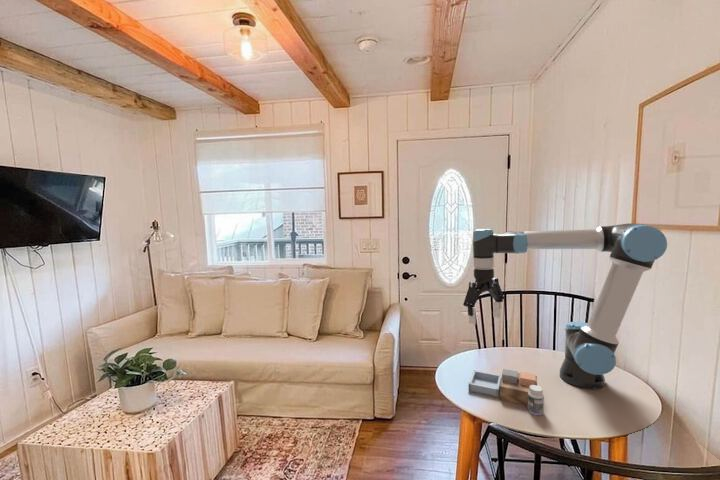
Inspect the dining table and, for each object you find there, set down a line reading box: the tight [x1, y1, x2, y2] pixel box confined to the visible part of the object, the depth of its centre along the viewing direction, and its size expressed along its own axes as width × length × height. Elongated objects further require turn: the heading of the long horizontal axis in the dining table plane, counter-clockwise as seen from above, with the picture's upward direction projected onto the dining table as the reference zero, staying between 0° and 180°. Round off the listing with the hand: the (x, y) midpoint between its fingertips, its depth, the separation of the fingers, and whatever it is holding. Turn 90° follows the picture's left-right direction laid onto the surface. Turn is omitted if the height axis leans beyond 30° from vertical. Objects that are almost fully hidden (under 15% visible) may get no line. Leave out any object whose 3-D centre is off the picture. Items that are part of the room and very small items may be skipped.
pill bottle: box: [527, 384, 545, 416], centre depth 113 cm, size 5×5×8 cm
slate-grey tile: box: [501, 368, 519, 384], centre depth 126 cm, size 5×5×2 cm
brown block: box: [499, 371, 538, 406], centre depth 124 cm, size 12×14×5 cm
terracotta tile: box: [519, 371, 537, 386], centre depth 123 cm, size 5×5×2 cm
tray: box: [468, 370, 502, 398], centre depth 130 cm, size 11×12×3 cm
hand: (484, 320), depth 134 cm, fingers open, 13 cm apart
